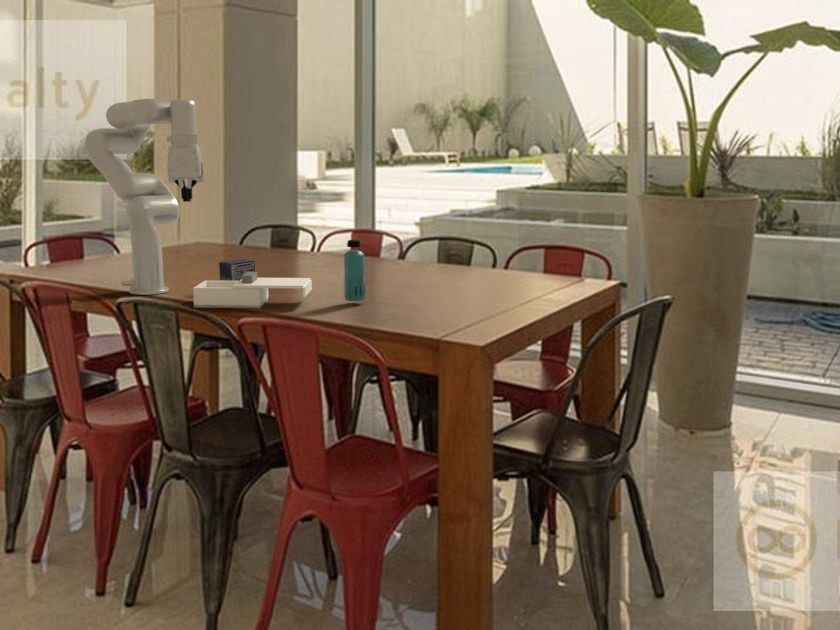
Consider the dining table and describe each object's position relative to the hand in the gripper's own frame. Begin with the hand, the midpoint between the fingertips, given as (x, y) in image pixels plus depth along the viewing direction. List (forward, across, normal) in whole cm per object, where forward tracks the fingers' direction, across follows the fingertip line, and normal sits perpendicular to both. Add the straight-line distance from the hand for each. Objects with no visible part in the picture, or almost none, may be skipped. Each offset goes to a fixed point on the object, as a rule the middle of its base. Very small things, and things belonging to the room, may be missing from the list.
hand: (187, 201), depth 275 cm
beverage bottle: (+31, +52, -4) cm, 61 cm away
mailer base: (+31, +14, -5) cm, 34 cm away
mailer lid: (+28, +27, -5) cm, 39 cm away
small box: (+31, +11, +17) cm, 37 cm away
